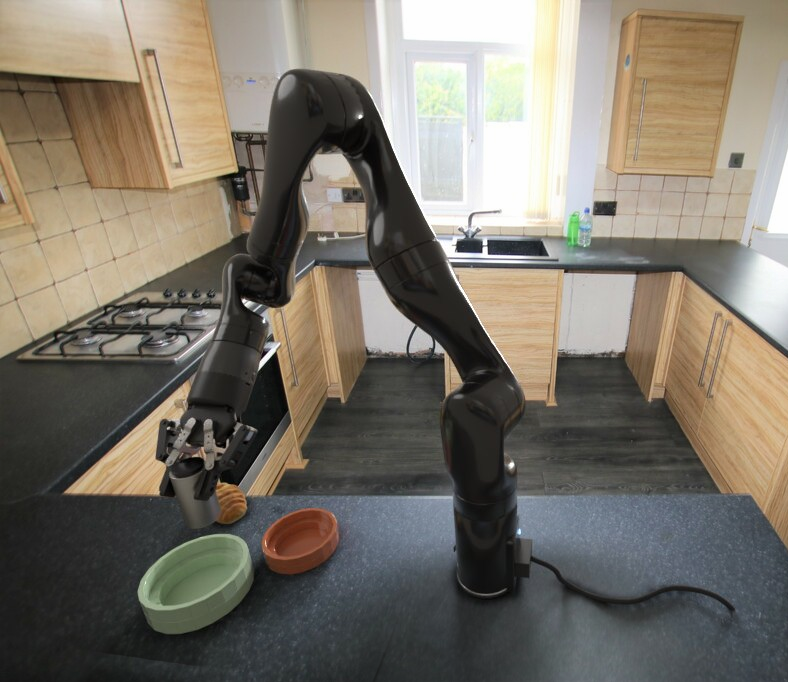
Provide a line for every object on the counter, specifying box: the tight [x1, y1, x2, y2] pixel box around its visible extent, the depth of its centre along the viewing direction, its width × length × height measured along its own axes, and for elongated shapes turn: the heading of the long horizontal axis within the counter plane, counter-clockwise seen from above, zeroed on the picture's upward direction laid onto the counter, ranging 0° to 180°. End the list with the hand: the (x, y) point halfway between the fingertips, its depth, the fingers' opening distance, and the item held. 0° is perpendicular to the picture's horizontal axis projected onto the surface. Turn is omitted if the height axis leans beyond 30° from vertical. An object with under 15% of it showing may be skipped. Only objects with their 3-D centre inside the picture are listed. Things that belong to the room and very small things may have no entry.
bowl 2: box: [261, 507, 340, 576], centre depth 77 cm, size 11×11×4 cm
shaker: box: [169, 456, 222, 530], centre depth 65 cm, size 4×4×9 cm
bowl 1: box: [137, 533, 255, 635], centre depth 69 cm, size 13×14×5 cm
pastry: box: [215, 482, 248, 525], centre depth 85 cm, size 9×7×4 cm
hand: (184, 497), depth 63 cm, fingers closed on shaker, 4 cm apart
